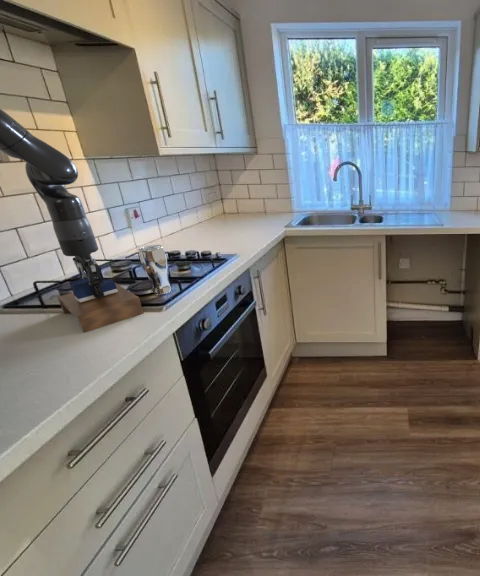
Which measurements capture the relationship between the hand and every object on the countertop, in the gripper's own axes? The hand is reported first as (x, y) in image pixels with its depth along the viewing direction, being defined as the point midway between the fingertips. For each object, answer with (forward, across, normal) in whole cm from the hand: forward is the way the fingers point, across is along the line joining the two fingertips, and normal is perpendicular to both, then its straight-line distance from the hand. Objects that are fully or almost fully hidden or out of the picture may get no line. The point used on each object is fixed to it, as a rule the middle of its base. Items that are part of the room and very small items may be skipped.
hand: (96, 294), depth 102 cm
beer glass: (+6, -2, +17) cm, 18 cm away
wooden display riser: (+6, 0, 0) cm, 6 cm away
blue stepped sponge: (0, 0, 0) cm, 0 cm away
